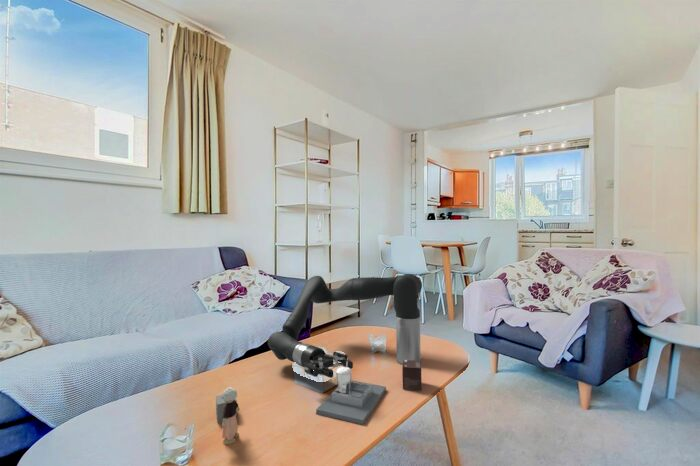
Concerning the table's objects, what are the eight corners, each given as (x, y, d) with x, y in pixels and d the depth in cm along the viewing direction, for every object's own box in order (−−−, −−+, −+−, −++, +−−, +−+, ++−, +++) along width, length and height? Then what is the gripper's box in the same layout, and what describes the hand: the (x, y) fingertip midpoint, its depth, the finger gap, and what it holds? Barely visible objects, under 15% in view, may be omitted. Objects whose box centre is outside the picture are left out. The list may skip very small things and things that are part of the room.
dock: (345, 382, 111) (345, 371, 111) (385, 390, 105) (385, 378, 105) (316, 413, 92) (316, 400, 92) (363, 424, 87) (362, 410, 87)
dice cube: (234, 409, 95) (234, 392, 95) (236, 418, 91) (236, 400, 91) (216, 413, 93) (215, 396, 93) (217, 423, 89) (216, 404, 89)
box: (421, 391, 104) (421, 368, 104) (402, 389, 105) (402, 366, 105) (421, 382, 110) (421, 360, 110) (403, 381, 111) (402, 359, 111)
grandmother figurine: (226, 430, 85) (225, 381, 85) (242, 429, 85) (241, 380, 85) (217, 450, 77) (216, 396, 77) (234, 449, 78) (233, 395, 78)
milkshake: (354, 395, 100) (354, 361, 100) (349, 403, 95) (348, 368, 95) (340, 393, 101) (340, 360, 102) (334, 401, 96) (333, 366, 97)
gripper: (291, 351, 107) (325, 364, 96) (324, 340, 118) (358, 351, 107) (291, 374, 108) (325, 390, 96) (324, 361, 118) (358, 374, 107)
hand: (342, 369), depth 102 cm, fingers open, 8 cm apart
